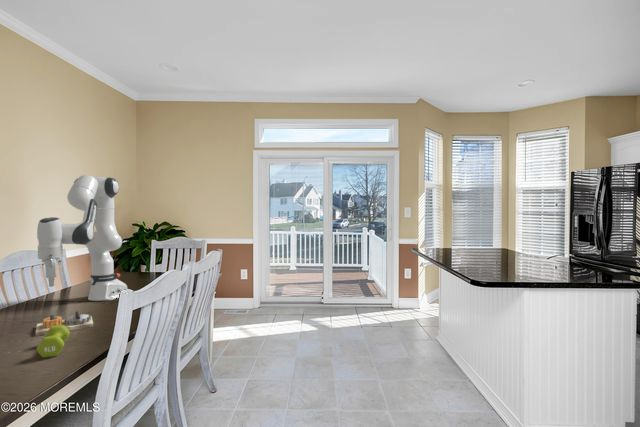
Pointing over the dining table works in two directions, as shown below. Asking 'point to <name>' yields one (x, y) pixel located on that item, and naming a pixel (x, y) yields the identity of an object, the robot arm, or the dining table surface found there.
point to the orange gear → (52, 322)
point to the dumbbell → (53, 341)
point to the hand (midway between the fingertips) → (51, 284)
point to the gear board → (44, 330)
